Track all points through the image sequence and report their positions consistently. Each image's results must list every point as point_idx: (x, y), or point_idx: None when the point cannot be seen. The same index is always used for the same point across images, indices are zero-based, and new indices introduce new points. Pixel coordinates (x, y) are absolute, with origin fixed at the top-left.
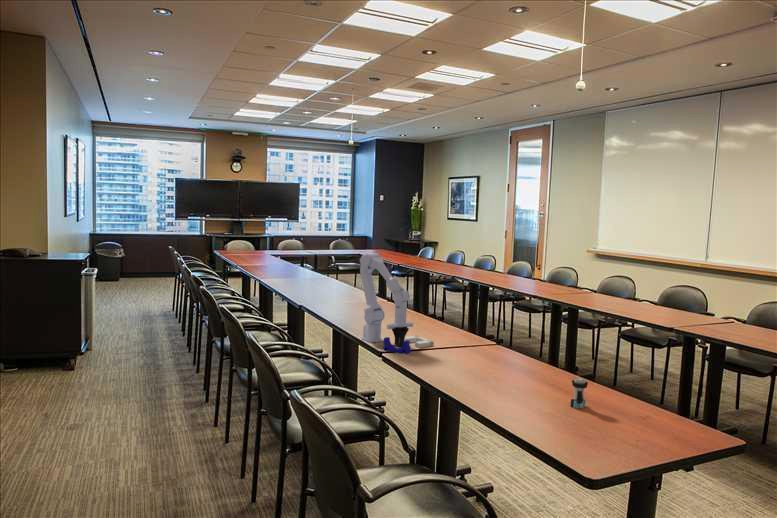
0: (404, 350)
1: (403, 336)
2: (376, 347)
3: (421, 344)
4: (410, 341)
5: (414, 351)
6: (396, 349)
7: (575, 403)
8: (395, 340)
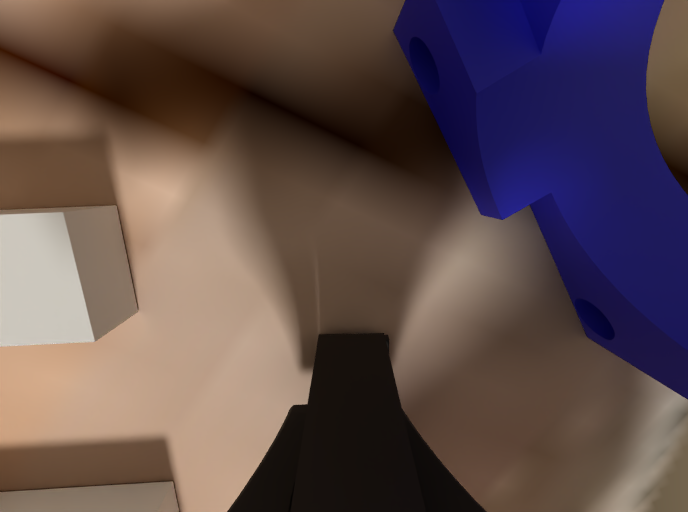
0: None
1: (325, 460)
2: (639, 435)
3: (23, 211)
4: (93, 496)
5: (309, 32)
6: (638, 115)
7: None
8: None
